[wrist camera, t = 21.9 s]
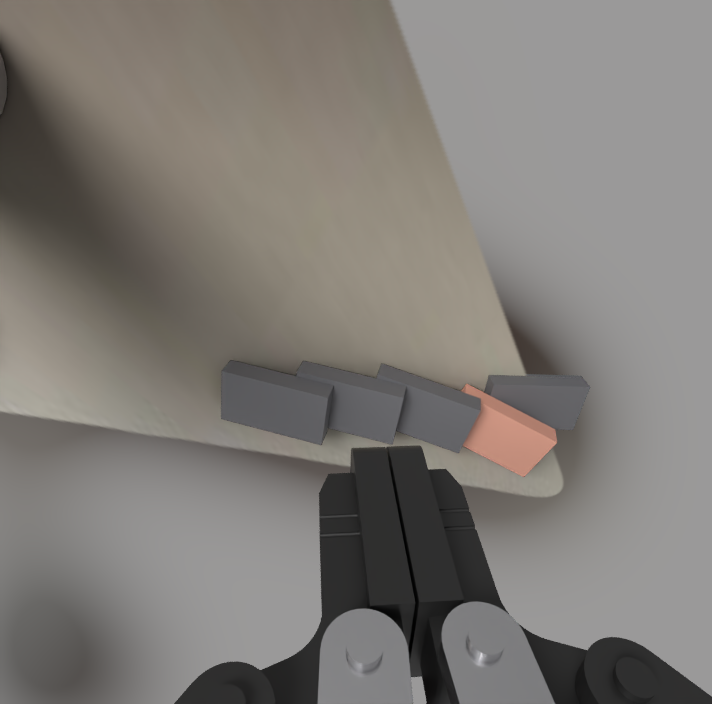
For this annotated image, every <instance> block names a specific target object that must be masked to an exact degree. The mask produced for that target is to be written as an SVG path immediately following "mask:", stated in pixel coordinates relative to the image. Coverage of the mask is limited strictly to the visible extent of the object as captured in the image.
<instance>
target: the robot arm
mask: <svg viewBox="0 0 712 704" xmlns="http://www.w3.org/2000/svg"><path fill="white" fill-rule="evenodd" d="M6 97H7V76H6V71H5V66H4V61H3V58H2V56H1V53H0V115H1V113H2V112H3V109H4V105H5V101H6ZM319 506H320V507H319V508H320V510H319V513H320V561H321V562H320V563H321V599H322V618H321V622H320V625H319V628H318V630H317V632H316V634H315V635H314V637H313V638H312V640H311V641H310V642H309V643H308V644H307V645H306V646H305V647H304V648H303V649H302V650H301V651H299V652H298V653H297V654H295V655H293V656H291V657H289V658H288V659H285V660H283V661H281V662H278V663H276V664H274V665H272V666H269V667H268V668H265V669H262V670H259V669H257V668H256V667H254V666H252V665H250V664H247V663H243V662H227V663H222V664H219V665H216V666H214V667H212V668H210V669H209V670H207V671H205V672H204V673H203V674H201V675H200V676H199V677H198V678H197V679H196V680H195V681H194V682H193V683H192V684H191V685H190V686H189V687H188V688H187V690H186V691H185V692H184V693H183V694H182V695H181V696H180V698H179V699H178V700H177V701H176V702H175V703H174V704H413V696H412V686H411V677H418V676H422V679H423V684H424V690H425V695H426V701H427V703H426V704H712V697H711V696H710V695H709V694H707V693H706V692H705V691H703V690H702V689H701V688H699V687H698V686H697V685H695V684H694V683H693V682H691V681H690V680H688V679H687V678H686V677H684V676H683V675H682V674H680V673H679V672H678V671H676V670H675V669H674V668H672V667H671V666H669V665H668V664H667V663H666V662H664V661H663V660H661V659H660V658H659V657H657V656H656V655H654V654H653V653H652V652H651V651H649V650H647V649H646V648H645V647H643V646H641V645H639V644H637V643H635V642H633V641H630V640H627V639H622V638H617V637H609V638H603V639H600V640H598V641H596V642H595V643H593V645H591V647H590V648H589V649H588V650H584V649H580V648H576V647H573V646H569V645H565V644H561V643H558V642H554V641H550V640H547V639H544V638H541V637H539V636H537V635H534V634H532V633H531V632H529V631H527V630H526V629H524V628H523V627H522V626H521V625H519V624H518V623H517V622H516V621H515V620H514V619H513V618H512V617H511V616H510V615H509V613H508V612H507V611H506V609H505V608H504V606H503V604H502V603H501V600H500V598H499V595H498V593H497V590H496V587H495V584H494V581H493V578H492V575H491V572H490V569H489V566H488V563H487V560H486V557H485V554H484V551H483V548H482V545H481V542H480V540H479V537H478V533H477V531H476V530H475V525H474V522H473V519H472V516H471V513H470V512H469V507H468V504H467V501H466V498H465V495H464V492H463V489H462V487H461V485H460V484H459V483H458V482H457V481H456V480H455V479H454V478H453V476H452V475H451V474H450V473H449V472H448V471H447V470H446V469H435V470H428V468H427V464H426V461H425V457H424V453H423V450H422V448H421V446H395V447H387V448H385V447H371V448H352V449H351V469H350V473H339V474H328V476H327V478H326V481H325V482H324V484H323V487H322V489H321V491H320V493H319Z"/></svg>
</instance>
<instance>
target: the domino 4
mask: <svg viewBox="0 0 712 704" xmlns="http://www.w3.org/2000/svg"><path fill="white" fill-rule="evenodd" d="M589 389H590V386H589V385H588V384H587V382H586V381H585V380H584V379H583V377H582V376H574V375H541V374H526V376H505V375H489V377H488V380H487V384H486V388H485V391H484V393H486V394H488V395H490V396H492V397H494V398H496V399H497V400H499V401H501V402H503V403H505V404H507V405H509V406H511V407H513V408H515V409H517V410H519V411H521V412H523V413H525V414H526V415H528V416H530V417H532V418H534V419H536V420H538V421H540V422H542V423H544V424H546V425H548V426H550V427H552V428H553V429H555V430H573V429H574V426H575V424H576V421H577V419H578V416H579V414H580V411H581V409H582V406H583V403H584V401H585V399H586V396H587V394H588V391H589Z"/></svg>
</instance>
